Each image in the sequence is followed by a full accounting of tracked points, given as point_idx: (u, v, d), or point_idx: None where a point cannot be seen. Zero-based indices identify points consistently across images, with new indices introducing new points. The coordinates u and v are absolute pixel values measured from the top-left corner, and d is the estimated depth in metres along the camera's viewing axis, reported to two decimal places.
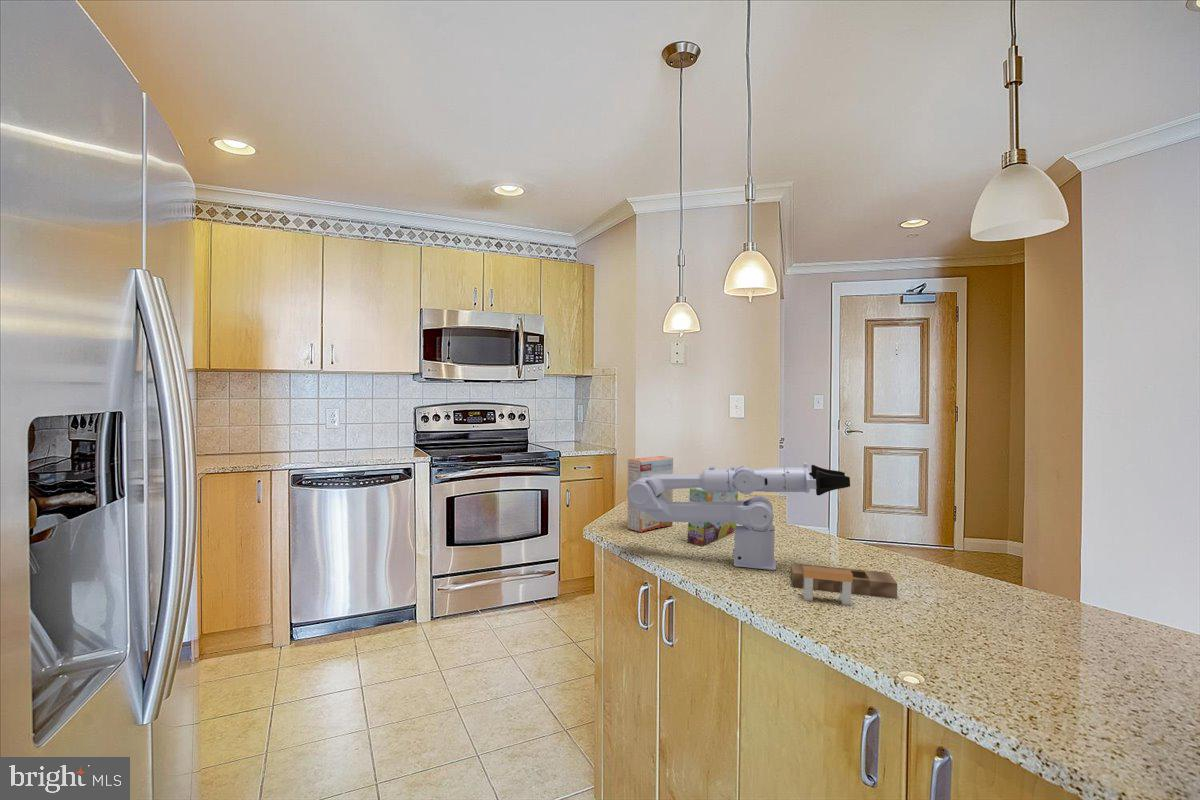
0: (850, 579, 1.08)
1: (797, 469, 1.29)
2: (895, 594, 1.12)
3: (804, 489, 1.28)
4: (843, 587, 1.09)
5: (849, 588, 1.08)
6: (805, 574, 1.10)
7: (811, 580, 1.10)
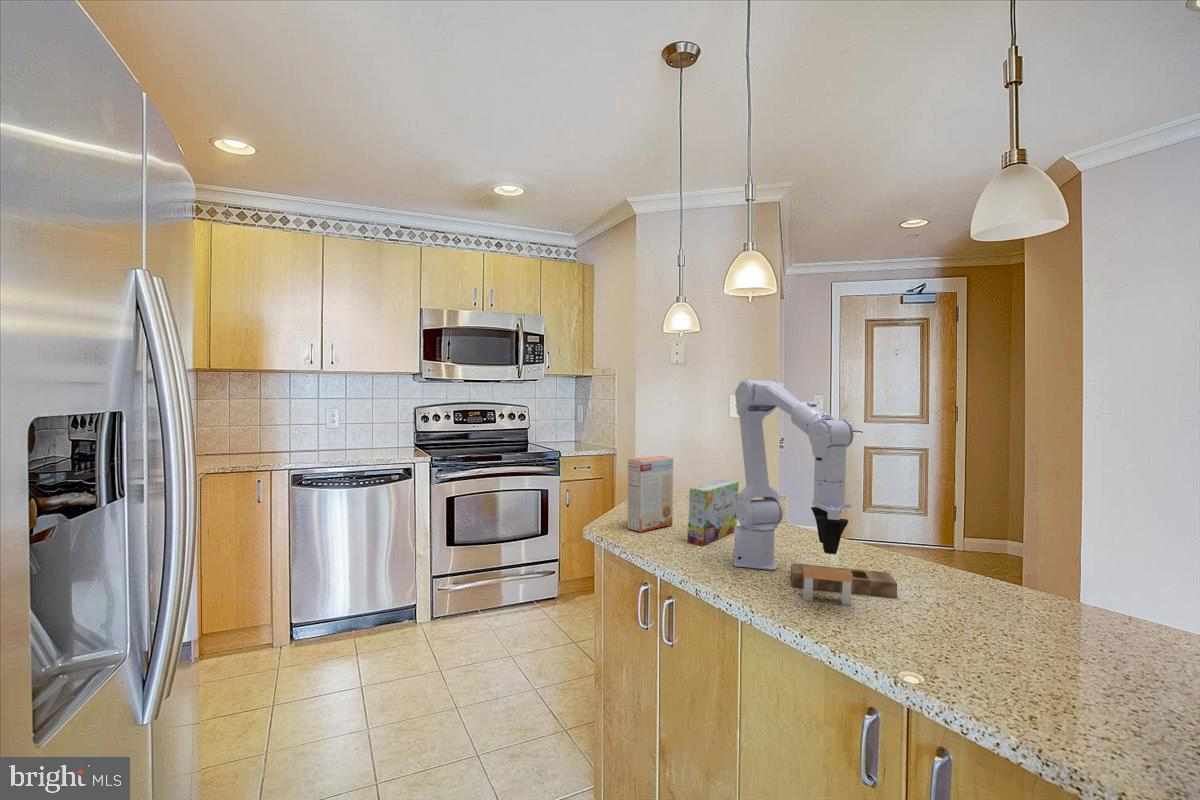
0: (850, 579, 1.08)
1: (843, 496, 1.09)
2: (895, 594, 1.12)
3: (819, 501, 1.09)
4: (843, 587, 1.09)
5: (849, 588, 1.08)
6: (805, 574, 1.10)
7: (811, 580, 1.10)
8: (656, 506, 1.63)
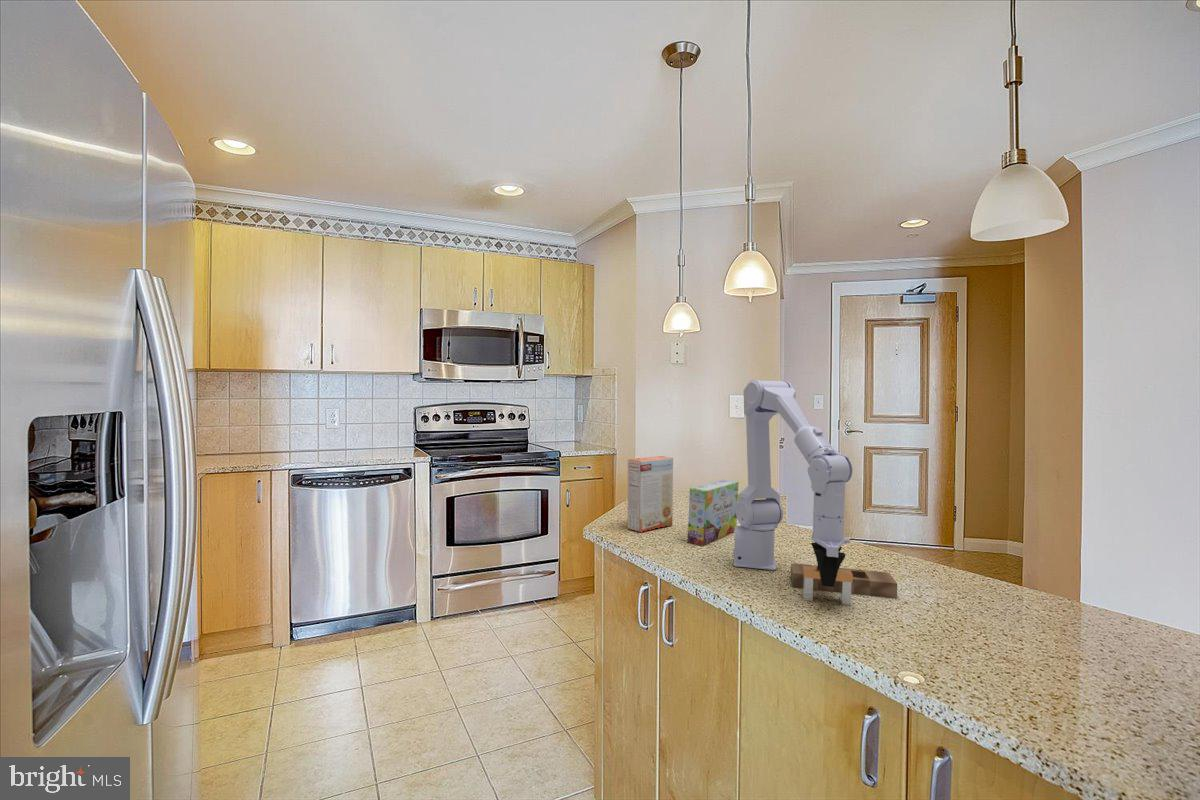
0: (850, 579, 1.08)
1: (842, 532, 1.09)
2: (895, 594, 1.12)
3: (818, 537, 1.09)
4: (843, 587, 1.09)
5: (849, 588, 1.08)
6: (805, 574, 1.10)
7: (811, 580, 1.10)
8: (656, 506, 1.63)
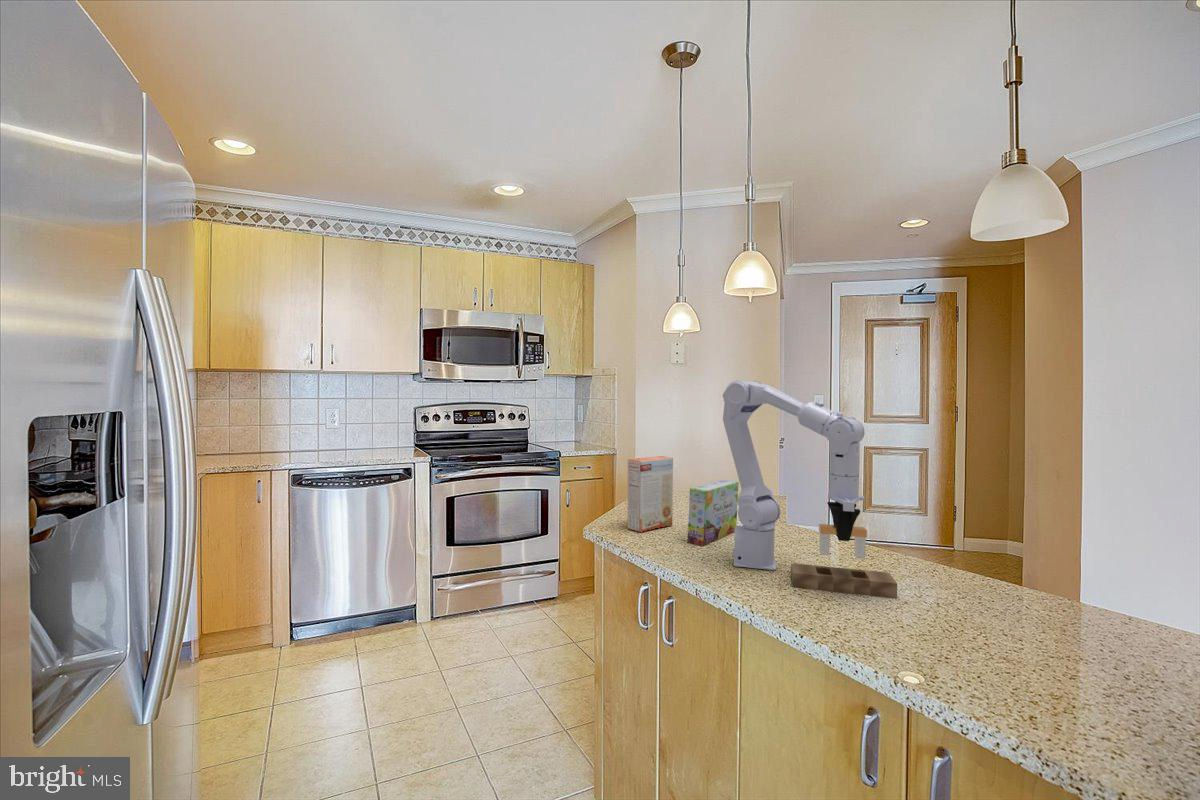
0: (864, 534, 1.16)
1: (857, 490, 1.16)
2: (895, 594, 1.12)
3: (834, 495, 1.17)
4: (858, 542, 1.16)
5: (863, 543, 1.16)
6: (822, 530, 1.18)
7: (827, 536, 1.18)
8: (656, 506, 1.63)
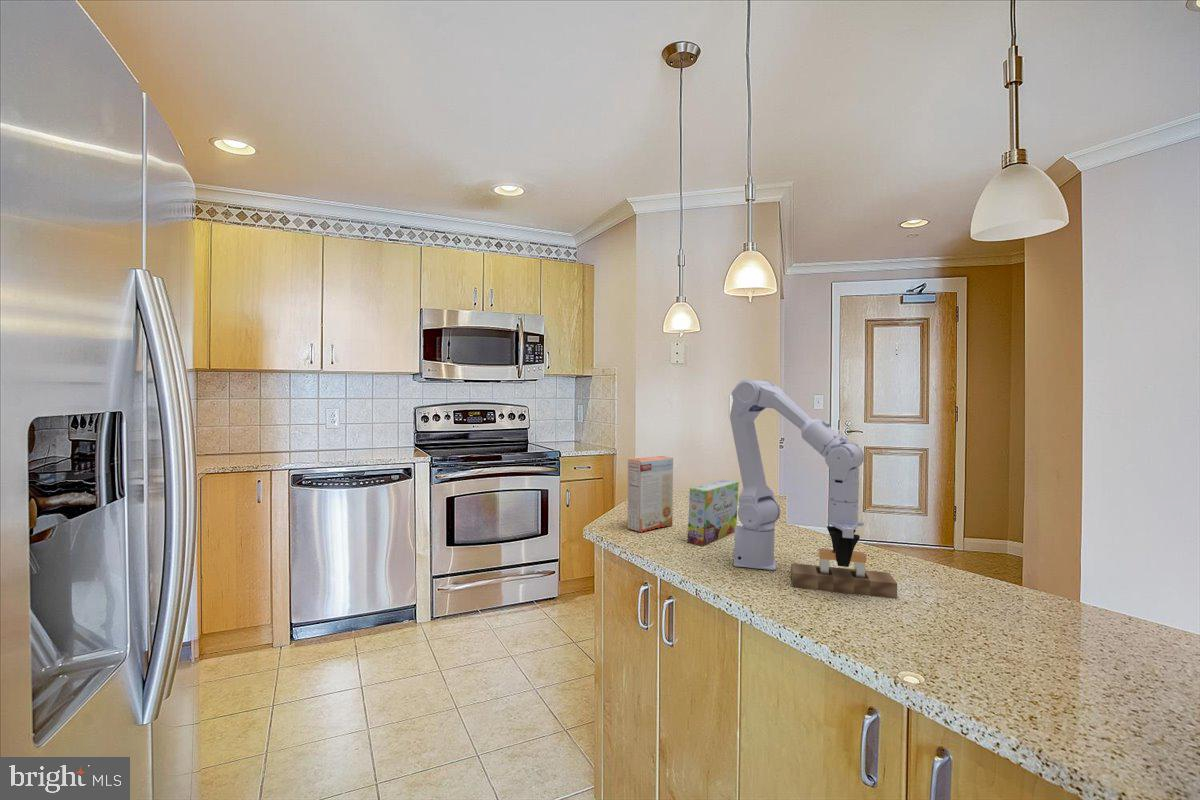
0: (864, 560, 1.16)
1: (857, 515, 1.16)
2: (895, 594, 1.12)
3: (834, 520, 1.17)
4: (857, 568, 1.16)
5: (863, 568, 1.16)
6: (821, 555, 1.18)
7: (827, 561, 1.18)
8: (656, 506, 1.63)
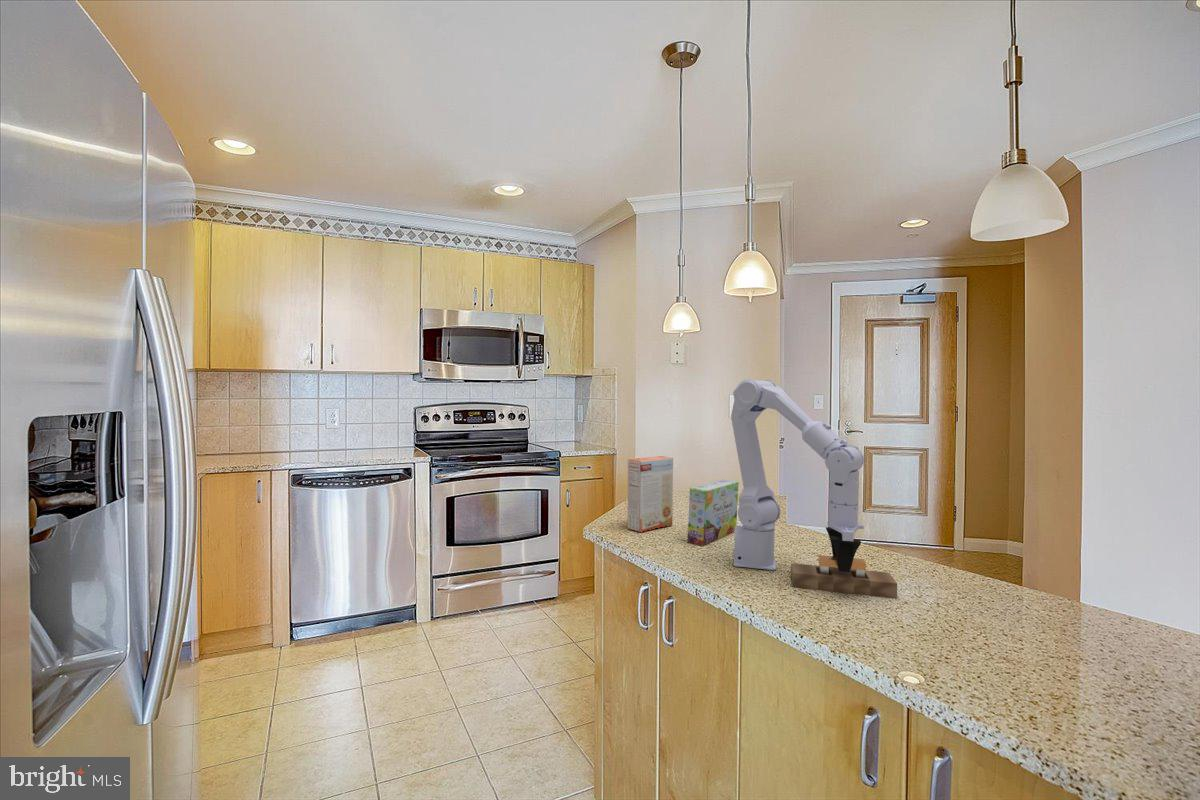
0: (863, 567, 1.16)
1: (857, 518, 1.16)
2: (895, 594, 1.12)
3: (834, 523, 1.17)
4: (857, 575, 1.16)
5: (862, 576, 1.16)
6: (821, 563, 1.18)
7: (827, 568, 1.18)
8: (656, 506, 1.63)
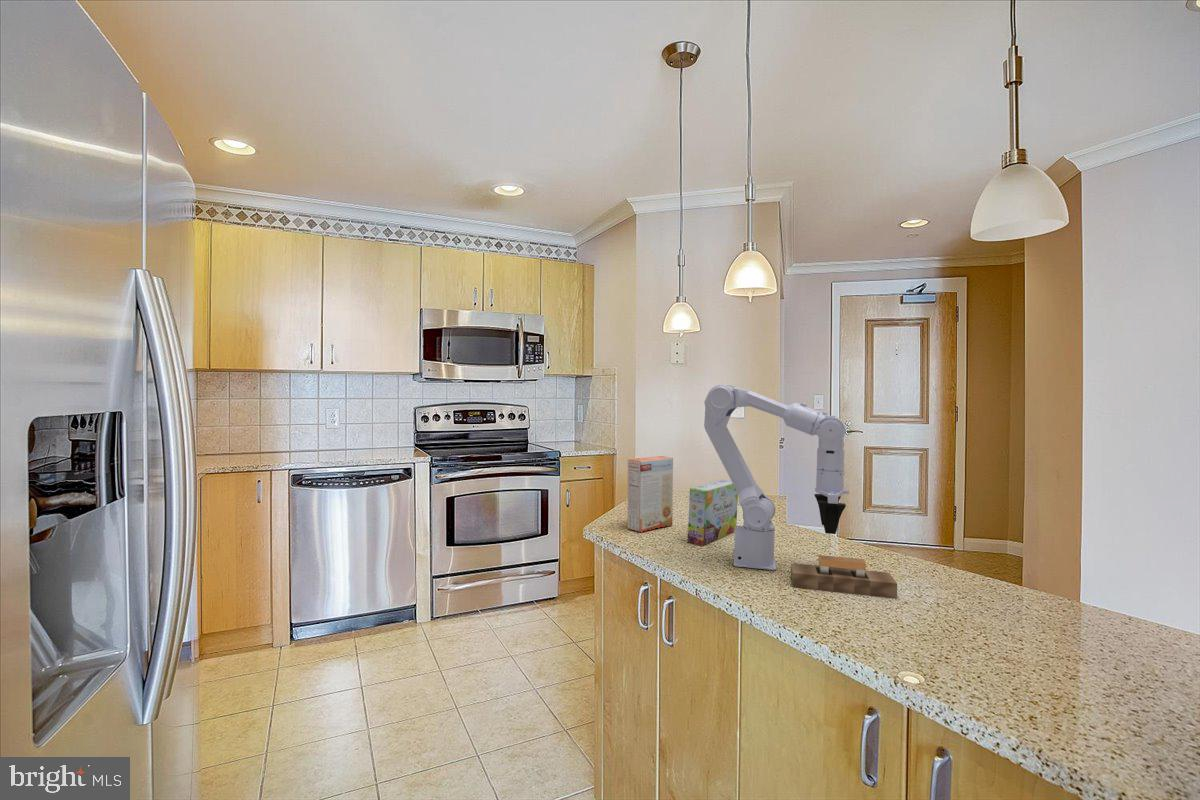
0: (863, 567, 1.16)
1: (842, 483, 1.24)
2: (895, 594, 1.12)
3: (821, 488, 1.24)
4: (857, 575, 1.16)
5: (862, 576, 1.16)
6: (821, 563, 1.18)
7: (827, 568, 1.18)
8: (656, 506, 1.63)
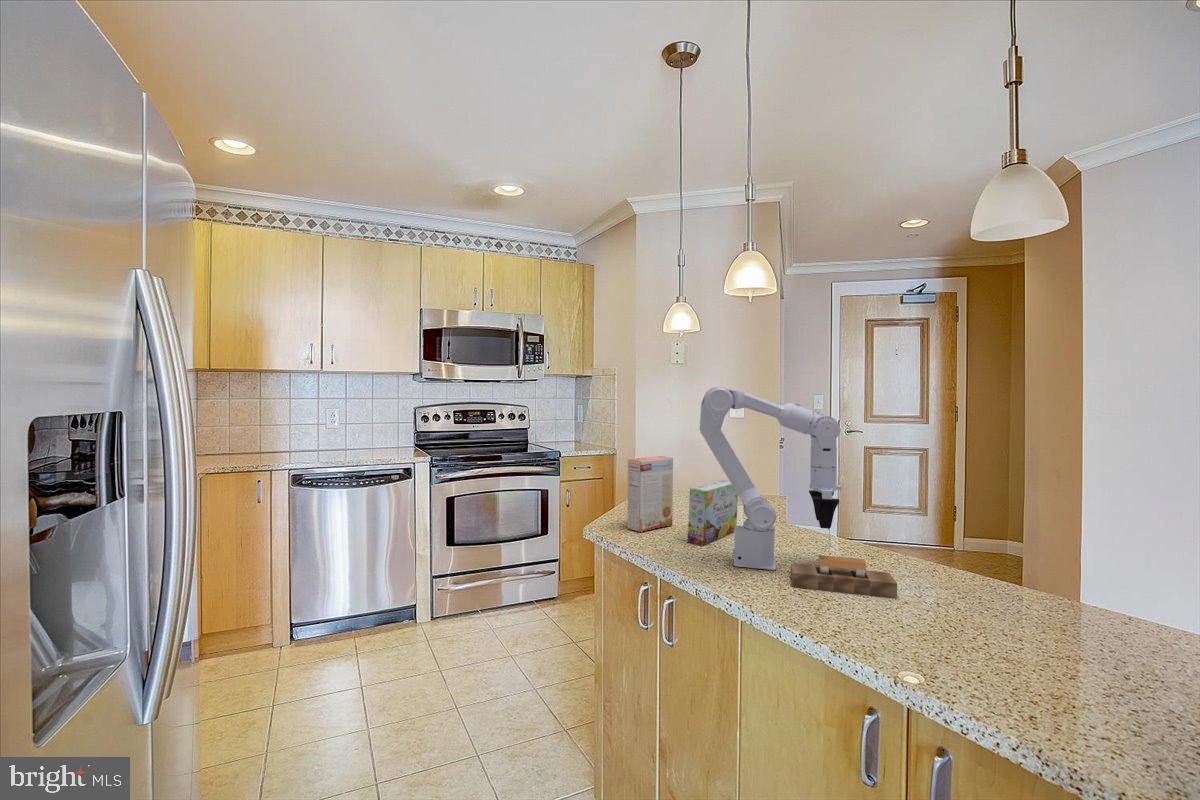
0: (863, 567, 1.16)
1: (835, 480, 1.28)
2: (895, 594, 1.12)
3: (815, 485, 1.29)
4: (857, 575, 1.16)
5: (862, 576, 1.16)
6: (821, 563, 1.18)
7: (827, 568, 1.18)
8: (656, 506, 1.63)
